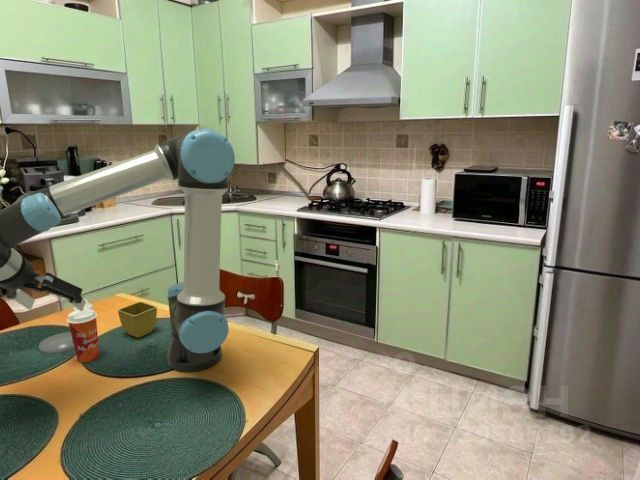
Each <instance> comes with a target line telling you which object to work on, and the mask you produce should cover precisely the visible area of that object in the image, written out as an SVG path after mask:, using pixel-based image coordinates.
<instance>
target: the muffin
mask: <svg viewBox="0 0 640 480" xmlns="http://www.w3.org/2000/svg"><path fill="white" fill-rule="evenodd" d="M83 299H84V300H85V301H86V303H85V306H84V309H92V310H93V308H94V306H93V305H92V303H90V302H89V301H88V299H86V298H83ZM77 310H78V309H77V308H76V307H74V306H73V308H72V312H74V311H77Z"/></svg>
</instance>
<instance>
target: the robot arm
mask: <svg viewBox="0 0 640 480" xmlns="http://www.w3.org/2000/svg"><path fill="white" fill-rule="evenodd" d="M235 157H236V156H235V152H234V148H233V146H232V143H230V141H229V140H228V139H227V138H226V136H224V135H223V134H221V133H220V132H219V131H215V130H213V129H210V128H209V129H208V128H198V129H196V128H195V129H190V130H187V131H184V132H182V133H181V134H178V135H177V136H174V137H173V138H170V139H168V140H166V141H164V142H161V143H158V144H156V145H155V147H154V149H153V150H150V151H148V152H144V153H141V154H139V155H136V156H133V157H130V158H127V159H125V160H122V161H119V162H116V163H112V164H111V165H106V166H104V167H101V168H99V169H95V170H92V171H90V172H87V173H84V174H81V175H78V176H75V177H73V178H70V179H67V180H63V181H61V182H58V183H56V184H52V185H50V186H47V187H44V188H41V189H38V190H35V191H29V192H25V193H24V194H21V195H20V196H19V197H18V198H17V199H16V200H15V202H13V203H12V204H11V205H8V206H6V207H5V208H2V209H1V210H0V298H4V296H5V297H6V298H7V299H12V300H13V301H15V302H17V303H18V304H19V305H21V306H23V307H24V308H26V309H28V310H32V308H33V306H34V303H35V301H36V300H35V298H33V297H32V296H30V295H29V294H28V293H27V292H24V291H23V290H32V291H35V292H38V293H43V292H45V293H48V294H51V295H55V296H57V297H60V298H64V299H66V301H67V302H68V303H69V304H71V305H72V306H73V308H74V307H76V308H77V309H78V310H80V311H83V309H84V306H85V303H86V301H85V300H84V299H85V298H83V296H81V295H82V292H83V288H81V287H79V286H76V285H75V284H72V283H70V282H68V281H66V280H63V279H61V278H59V277H57V276H55V275H54V274H52V273H51V272H46V273H45V275H41V274H38V273H37V272H35V271H34V268H33V264H32V263H31V262H30V261H29V260H28V259H26V258H25V257H24V256H23V255H22V254H21V253H19V251H17V250H16V249H15V248H13V247H16V246H18V245H20V244H22V243H24V242H26V241H28V240H29V239H32V238H34V237H36V236H38V235H41V234H42V233H45V232H48V231H49V230H51V229H52V228H54V227H55V226H57V225H59V224H60V223H61V221H62V218H63V217H65V216H69V215H71V214H73V213H76V212H78V211H82V210H85V209H88V208H90V207H93V206H95V205H98V204H101V203H103V202H106V201H109V200H112V199H115V198H117V197H120V196H124V195H125V194H128V193H131V192H133V191H136V190H139V189H142V188H145V187H147V186H150V185H153V184H155V183H158V182H161V181H163V180H166V179H167V180H169V181H175V180H177V179H178V182H177V183H178V184H177V187H178V188H179V189H180V190H181V191H182V193H184V229H183V234H184V235H183V237H184V240H183V241H184V243H183V248H184V249H183V281H182V282H179V283H175V284H173V285H170V286H169V287H168V289H167V297H166V299H168V300H167V301H168V302H167V303H168V311H169V321H170V331H171V340H170V343H169V347H168V351H167V356H166V357H167V358H166V359H167V365H168V366H169V367H170V369H172V370H174V371H177V372H183V373H184V372H185V373H193V372H194V373H195V372H199V371H203V370H206V369H208V368H209V369H210V368H211V367H213V366H215V365H216V364H218V363H220V360H221V359H222V356H223V352H222V350H223V349H222V345H223V344H224V342H225V341H226V339H227V337H228V335H229V332H230V331H229V330H230V329H229V321H228V319H227V318H226V316H225V313H226V311H225V308H226V307H225V306H226V304H225V303H226V295H225V293H223V292H222V290H220V275H221V274H220V271H221V270H220V269H221V266H220V265H221V240H222V239H221V238H222V237H221V236H222V235H221V233H222V205H223V204H222V202H223V201H222V200H223V195H224V194H225V193H226V192H227V191H228V190H229V187H230V186H229V185H230V183H229V182H230V174H231V173H232V171H233V169H234V165H235V162H236V161H235ZM40 283H41V285H40ZM39 286H40V287H39Z"/></svg>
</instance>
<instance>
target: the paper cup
mask: <svg viewBox="0 0 640 480" xmlns="http://www.w3.org/2000/svg"><path fill="white" fill-rule="evenodd" d="M97 317H98V314H97V312H96V311H95V310H94V309H93V308H92V309H83V311H80V310H77V311H72V312H70V313H69V314H68V315H67V319H66V322H67V323H68V326H69V330H70V331H69V332H71V335H72V340H73V344H74V351H75V356H76V359H77V362H79V363H90V362H93V361H95V360H97V359H98V358H99V357H100V356H99V354H100V353H99V340H98V339H99V338H98V325H97Z"/></svg>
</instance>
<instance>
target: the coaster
mask: <svg viewBox="0 0 640 480" xmlns="http://www.w3.org/2000/svg"><path fill="white" fill-rule="evenodd" d="M38 349H39V351H40V352H41V353H42V354H47V355H49V354H51V355H52V354H61V353H65V352H68V351H71V350H75V348H74V344H73V340H72V335H71V331H68V332H61V333H56V334H53V335H50V336H47V337H46V338H44V339H43V340H41V341H40V342H39V344H38Z"/></svg>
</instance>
